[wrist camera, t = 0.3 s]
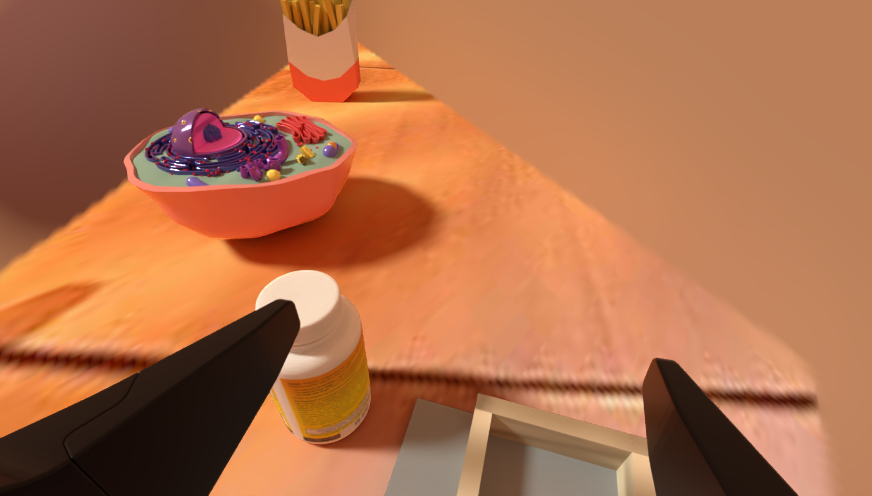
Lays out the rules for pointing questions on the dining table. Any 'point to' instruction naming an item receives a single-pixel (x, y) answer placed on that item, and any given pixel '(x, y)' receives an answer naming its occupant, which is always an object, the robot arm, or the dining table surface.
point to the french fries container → (322, 48)
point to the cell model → (243, 171)
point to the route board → (485, 462)
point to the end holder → (555, 444)
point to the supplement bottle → (321, 360)
